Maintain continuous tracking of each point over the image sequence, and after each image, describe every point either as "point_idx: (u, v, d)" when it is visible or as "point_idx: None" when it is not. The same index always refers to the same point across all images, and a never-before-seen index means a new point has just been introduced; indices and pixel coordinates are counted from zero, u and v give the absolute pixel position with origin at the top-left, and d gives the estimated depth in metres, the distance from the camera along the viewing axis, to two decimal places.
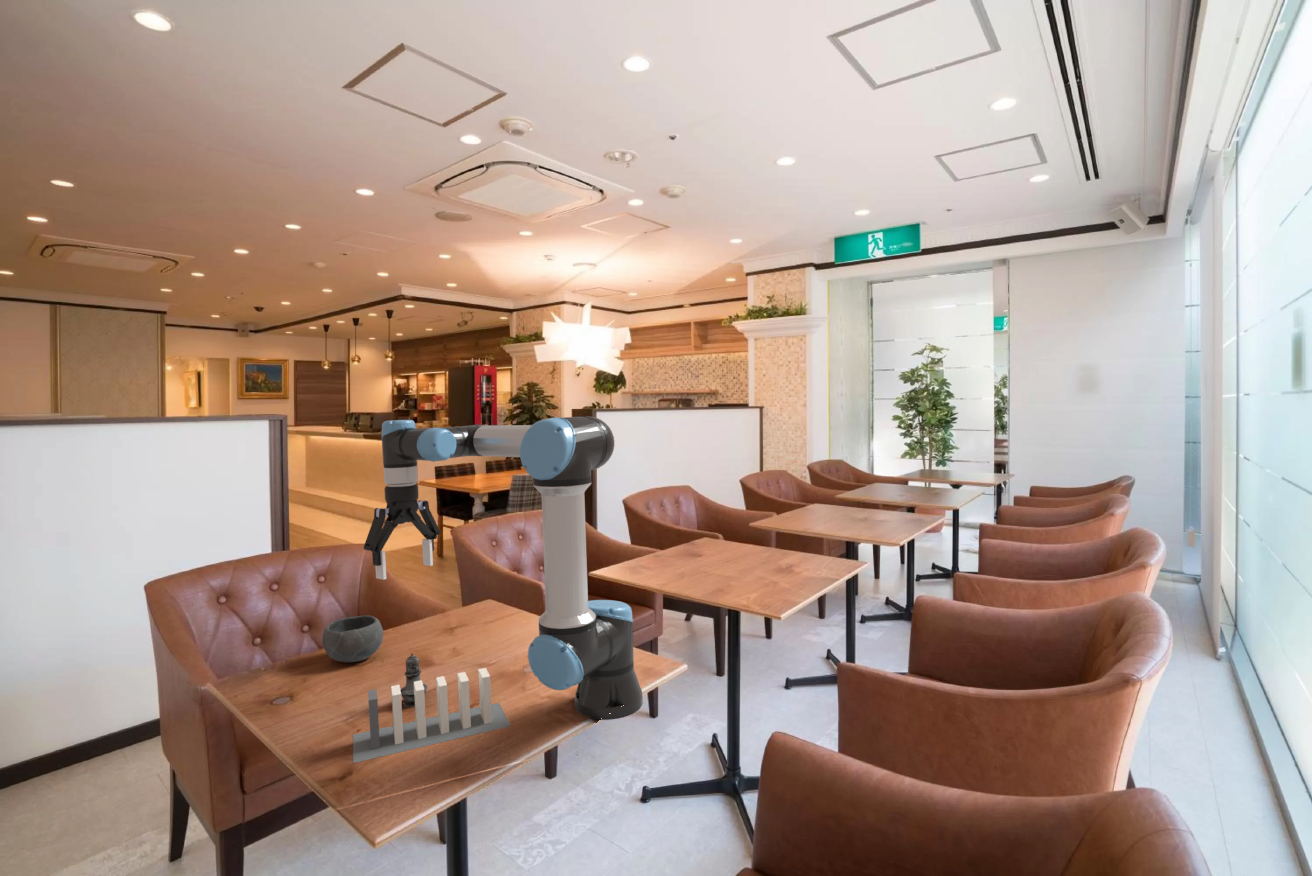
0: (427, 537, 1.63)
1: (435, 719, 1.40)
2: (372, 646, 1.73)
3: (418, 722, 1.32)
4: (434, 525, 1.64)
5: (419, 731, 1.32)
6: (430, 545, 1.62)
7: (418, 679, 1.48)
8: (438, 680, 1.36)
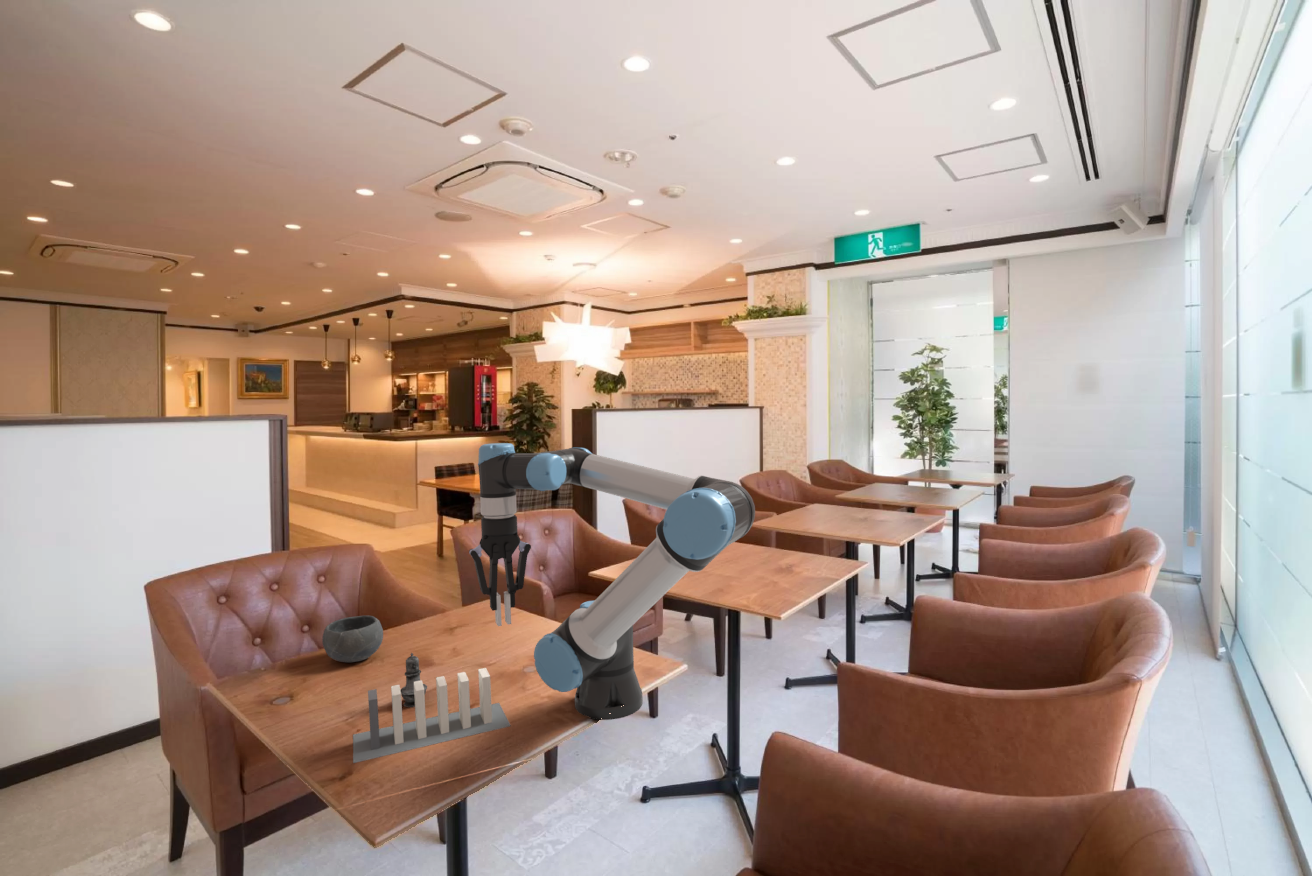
0: (508, 588, 1.41)
1: (435, 719, 1.40)
2: (372, 646, 1.73)
3: (418, 722, 1.32)
4: (521, 575, 1.41)
5: (419, 731, 1.32)
6: (508, 601, 1.40)
7: (418, 679, 1.48)
8: (438, 680, 1.36)
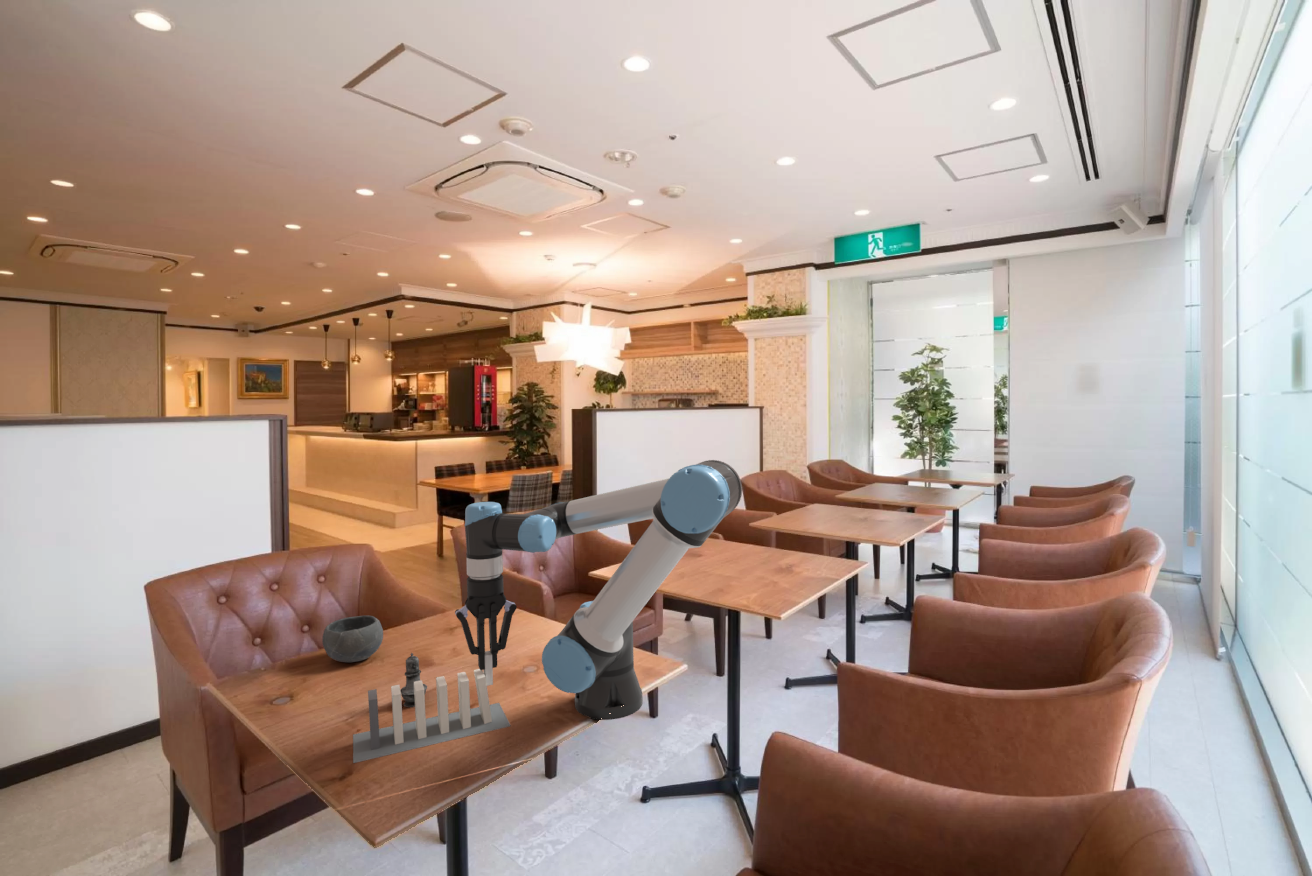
0: (490, 648, 1.41)
1: (435, 719, 1.40)
2: (372, 646, 1.73)
3: (418, 722, 1.32)
4: (504, 636, 1.40)
5: (419, 731, 1.32)
6: (490, 661, 1.39)
7: (418, 679, 1.48)
8: (438, 680, 1.36)
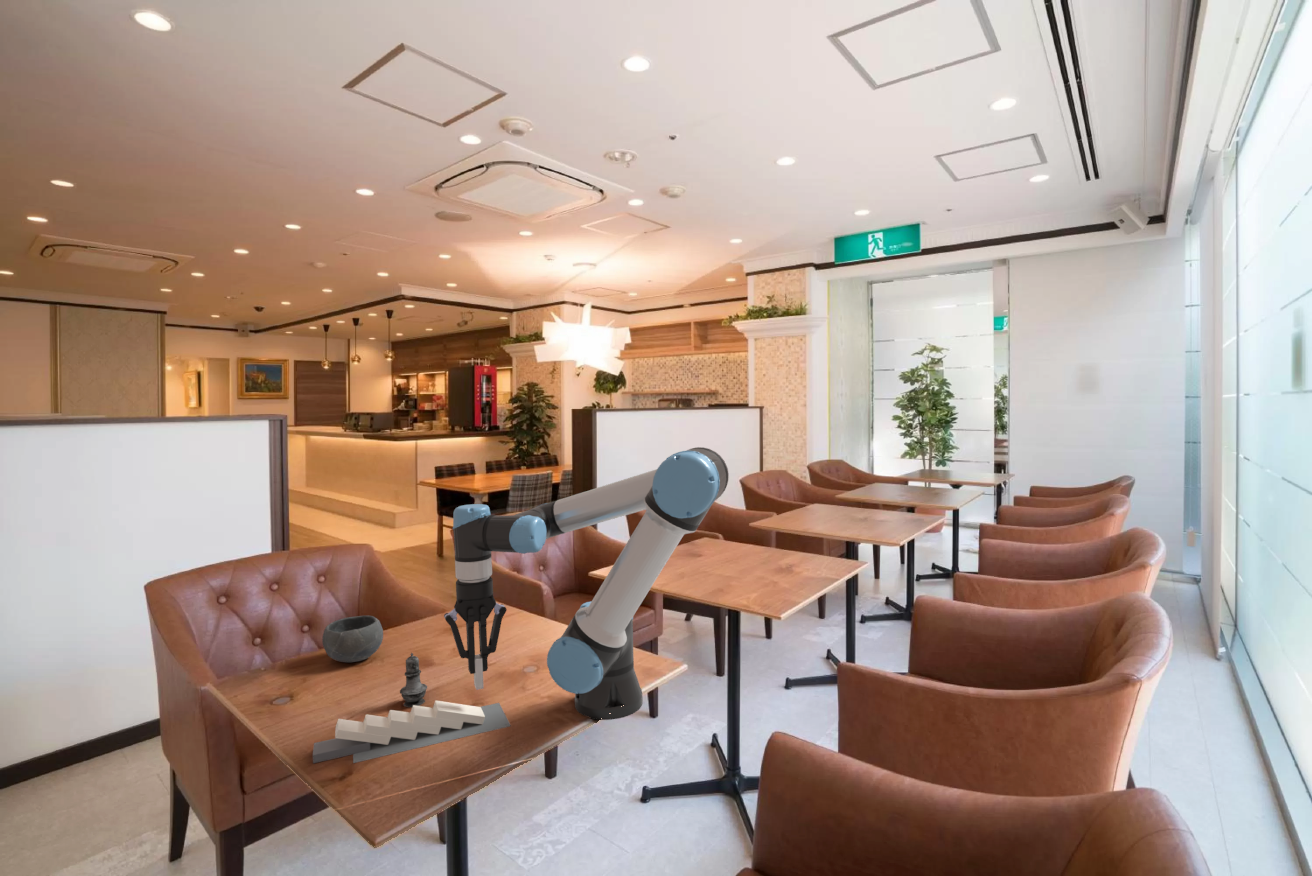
0: (480, 652, 1.39)
1: None
2: (372, 646, 1.73)
3: (398, 736, 1.31)
4: (494, 639, 1.39)
5: (407, 737, 1.31)
6: (480, 665, 1.38)
7: (418, 679, 1.48)
8: (388, 720, 1.32)
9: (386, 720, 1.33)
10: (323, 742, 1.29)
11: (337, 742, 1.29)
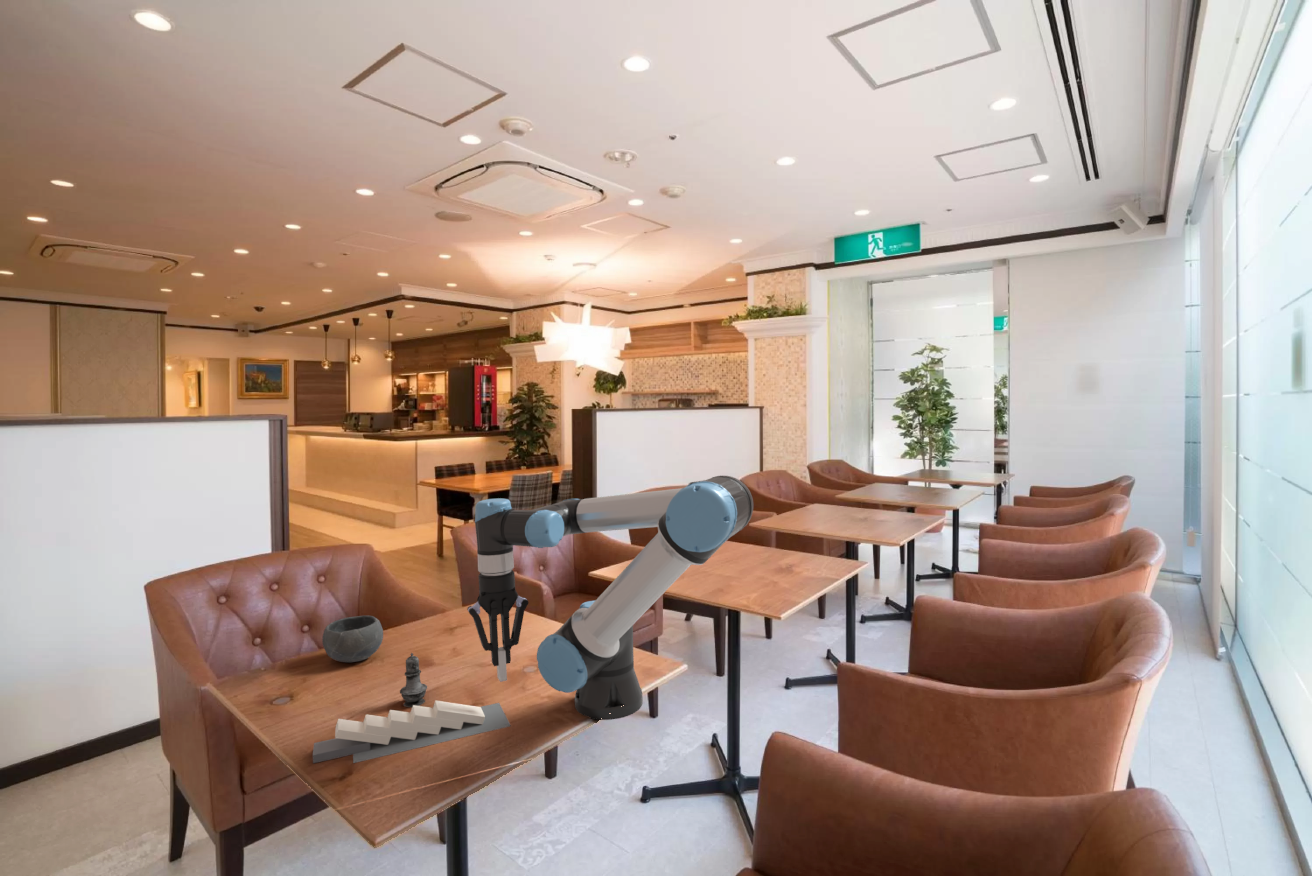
0: (503, 644, 1.41)
1: None
2: (372, 646, 1.73)
3: (398, 736, 1.31)
4: (517, 631, 1.41)
5: (407, 737, 1.31)
6: (503, 657, 1.40)
7: (418, 679, 1.48)
8: (388, 720, 1.32)
9: (386, 720, 1.33)
10: (323, 742, 1.29)
11: (337, 742, 1.29)
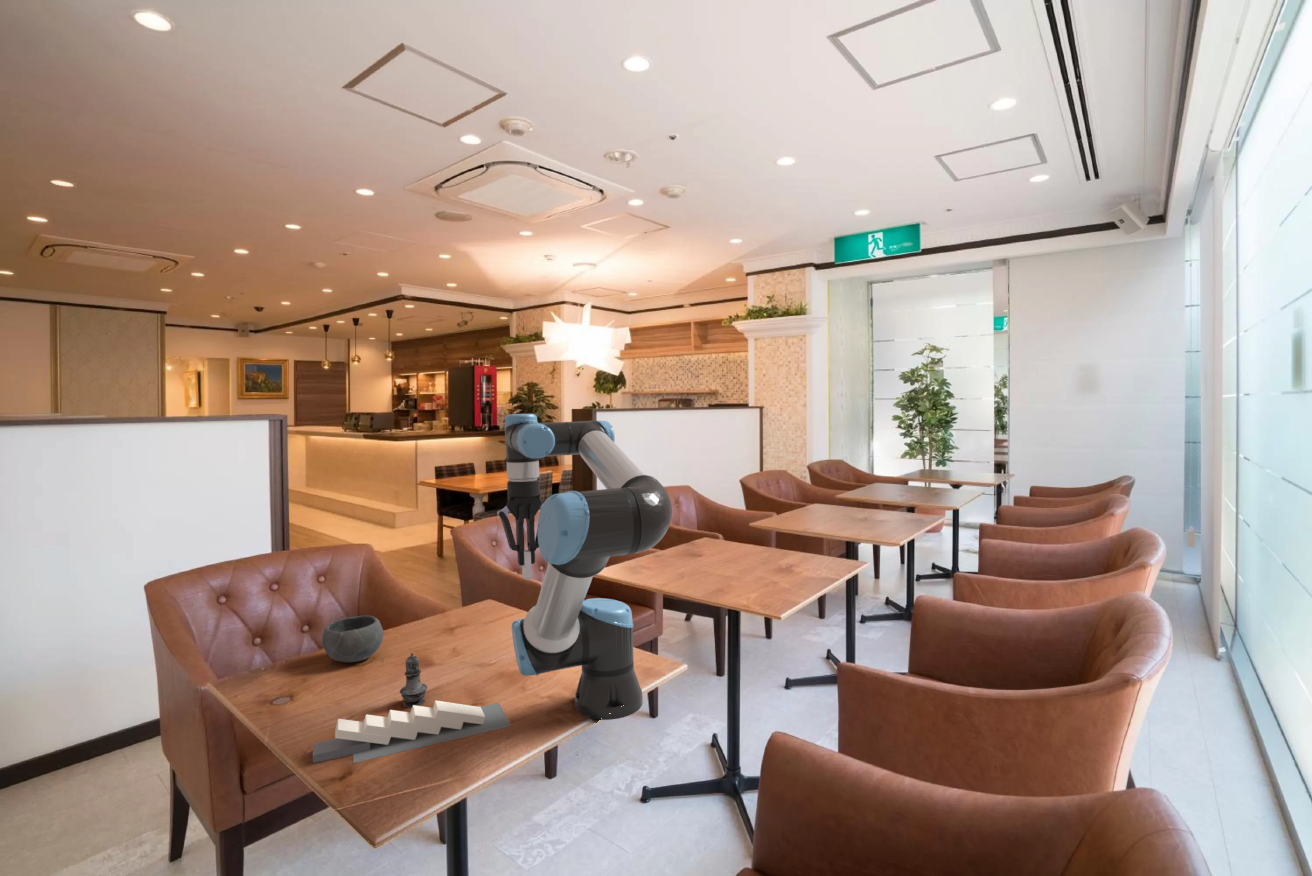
0: (528, 546, 1.55)
1: None
2: (372, 646, 1.73)
3: (398, 736, 1.31)
4: None
5: (407, 737, 1.31)
6: (528, 557, 1.53)
7: (418, 679, 1.48)
8: (388, 720, 1.32)
9: (386, 720, 1.33)
10: (323, 742, 1.29)
11: (337, 742, 1.29)
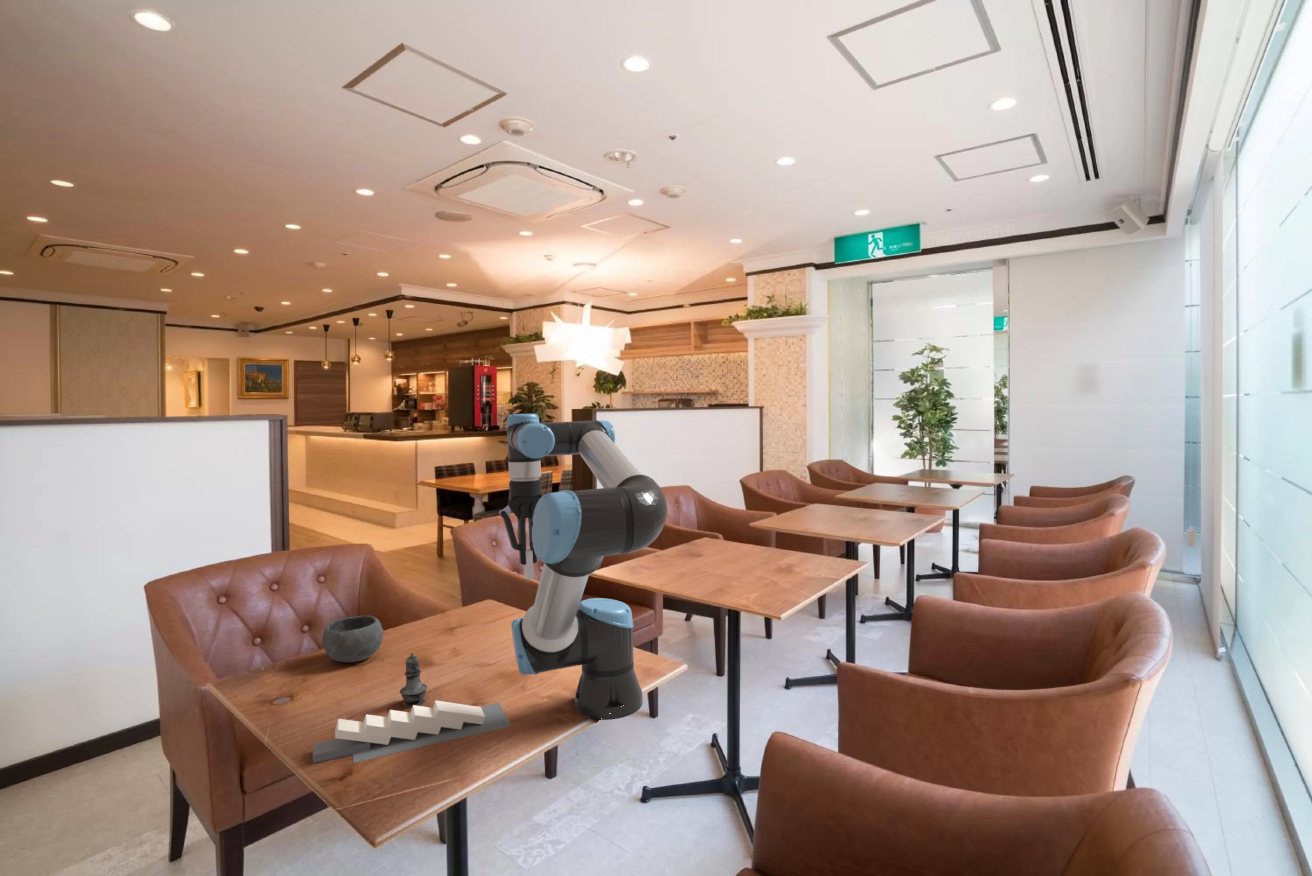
0: (530, 546, 1.56)
1: None
2: (372, 646, 1.73)
3: (398, 736, 1.31)
4: None
5: (407, 737, 1.31)
6: (530, 557, 1.54)
7: (418, 679, 1.48)
8: (388, 720, 1.32)
9: (386, 720, 1.33)
10: (323, 742, 1.29)
11: (337, 742, 1.29)
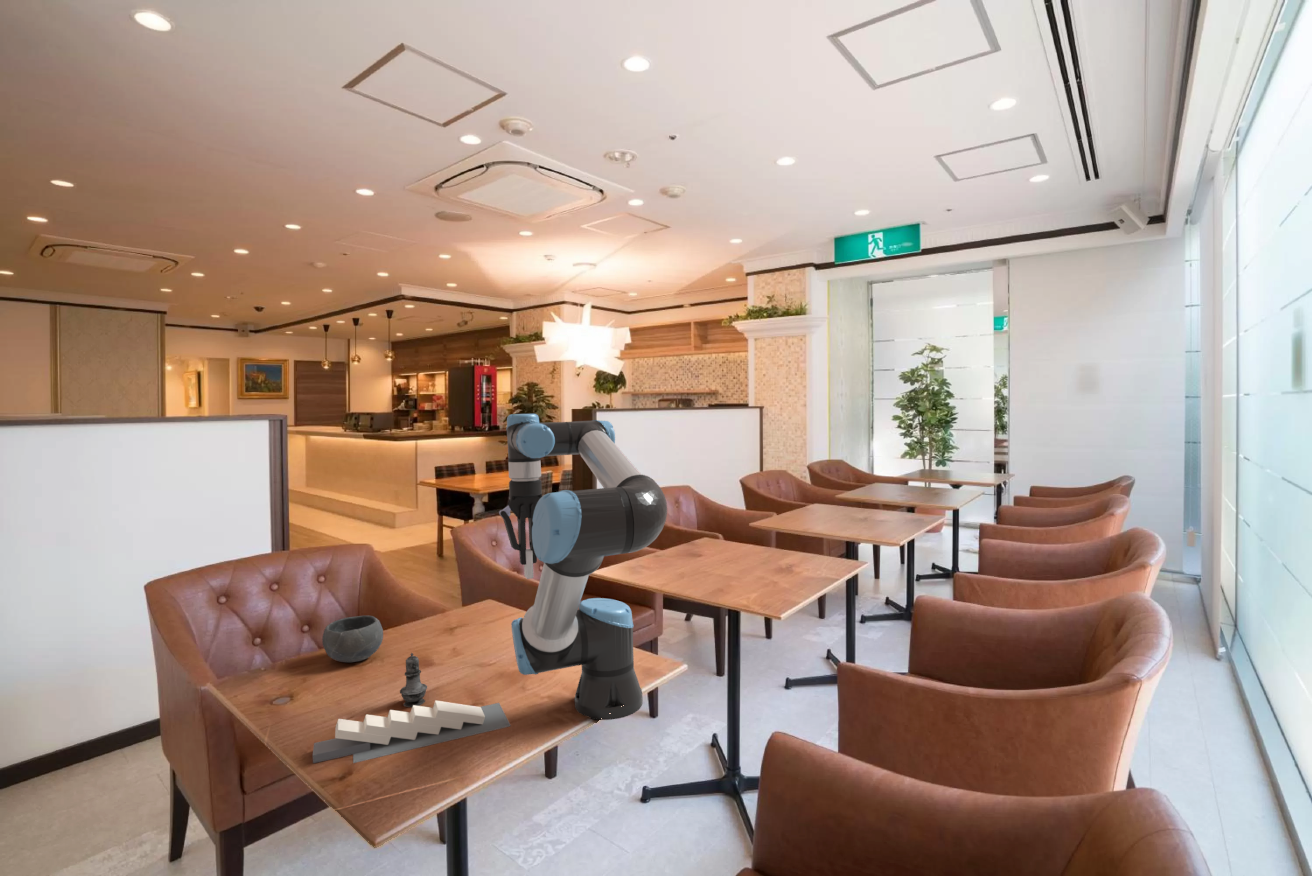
0: (530, 546, 1.56)
1: None
2: (372, 646, 1.73)
3: (398, 736, 1.31)
4: None
5: (407, 737, 1.31)
6: (530, 557, 1.54)
7: (418, 679, 1.48)
8: (388, 720, 1.32)
9: (386, 720, 1.33)
10: (323, 742, 1.29)
11: (337, 742, 1.29)
